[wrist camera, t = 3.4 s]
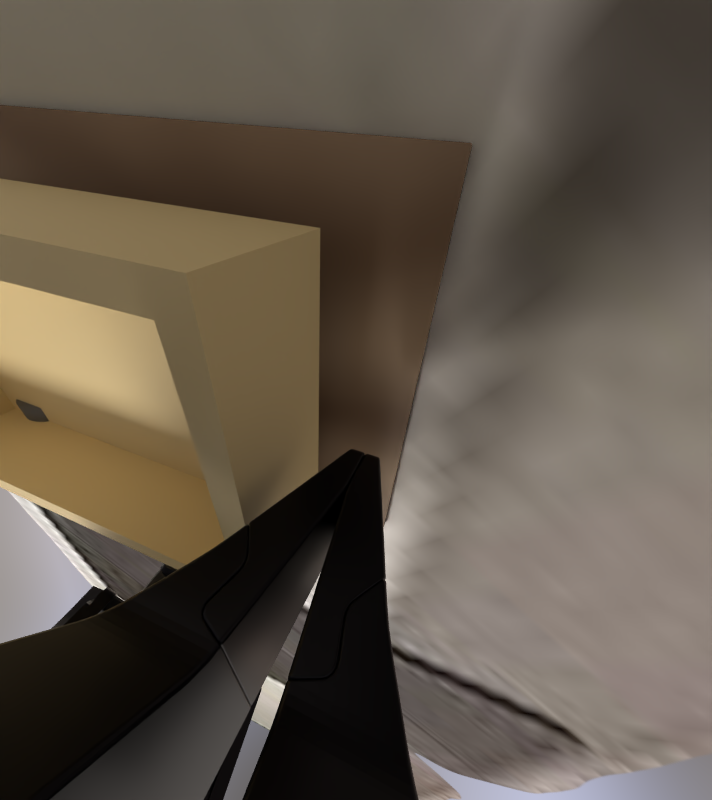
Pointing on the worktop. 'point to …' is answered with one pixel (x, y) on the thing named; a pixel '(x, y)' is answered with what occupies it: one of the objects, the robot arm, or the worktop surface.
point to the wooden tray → (155, 365)
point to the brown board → (298, 204)
